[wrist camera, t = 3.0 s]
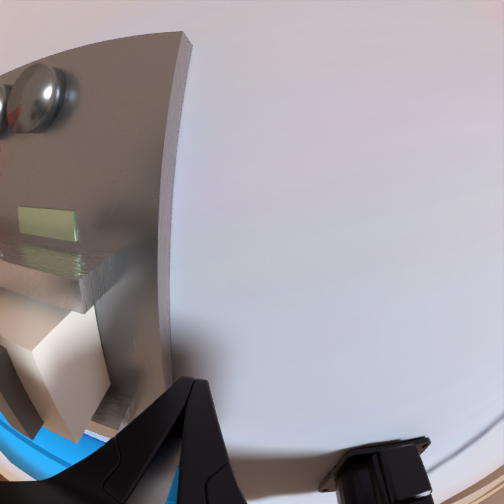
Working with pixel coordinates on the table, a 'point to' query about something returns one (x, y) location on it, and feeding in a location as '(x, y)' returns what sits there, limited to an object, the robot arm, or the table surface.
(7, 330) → the breaker
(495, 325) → the table surface
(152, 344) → the panel
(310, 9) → the table surface
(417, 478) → the robot arm
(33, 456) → the book
